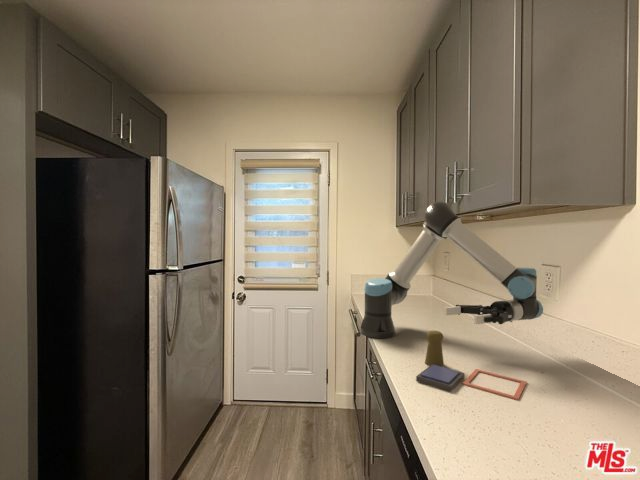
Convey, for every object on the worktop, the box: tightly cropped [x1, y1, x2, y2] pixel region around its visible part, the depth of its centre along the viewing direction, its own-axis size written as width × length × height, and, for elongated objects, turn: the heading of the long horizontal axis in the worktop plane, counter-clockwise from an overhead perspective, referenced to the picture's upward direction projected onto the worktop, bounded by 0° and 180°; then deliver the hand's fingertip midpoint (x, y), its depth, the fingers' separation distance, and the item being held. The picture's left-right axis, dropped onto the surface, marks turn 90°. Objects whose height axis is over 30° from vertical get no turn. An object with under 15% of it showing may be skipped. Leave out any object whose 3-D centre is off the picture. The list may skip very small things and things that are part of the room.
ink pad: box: [415, 365, 465, 393], centre depth 99 cm, size 12×10×2 cm
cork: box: [424, 330, 445, 367], centre depth 111 cm, size 6×6×11 cm
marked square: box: [462, 368, 528, 401], centre depth 97 cm, size 14×14×1 cm
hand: (459, 315), depth 114 cm, fingers open, 13 cm apart
